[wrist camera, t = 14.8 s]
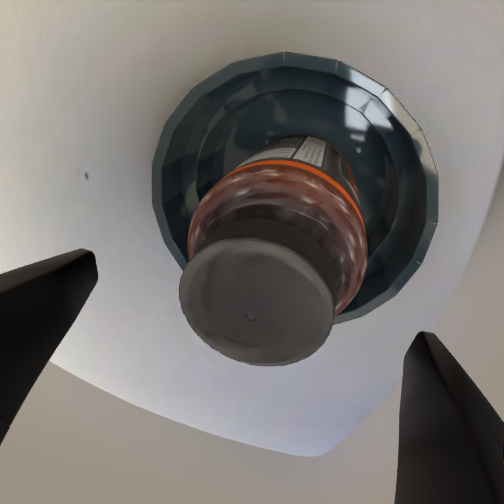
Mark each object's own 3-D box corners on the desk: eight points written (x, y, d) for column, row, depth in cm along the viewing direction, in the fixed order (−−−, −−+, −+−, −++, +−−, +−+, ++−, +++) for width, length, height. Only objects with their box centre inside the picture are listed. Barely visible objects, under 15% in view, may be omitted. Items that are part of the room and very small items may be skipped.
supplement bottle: (360, 229, 18) (371, 393, 8) (261, 236, 19) (185, 384, 10) (348, 125, 15) (373, 186, 5) (240, 140, 17) (111, 219, 7)
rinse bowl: (435, 96, 13) (470, 100, 9) (377, 295, 20) (382, 348, 16) (201, 55, 15) (156, 47, 11) (190, 252, 22) (156, 293, 18)
